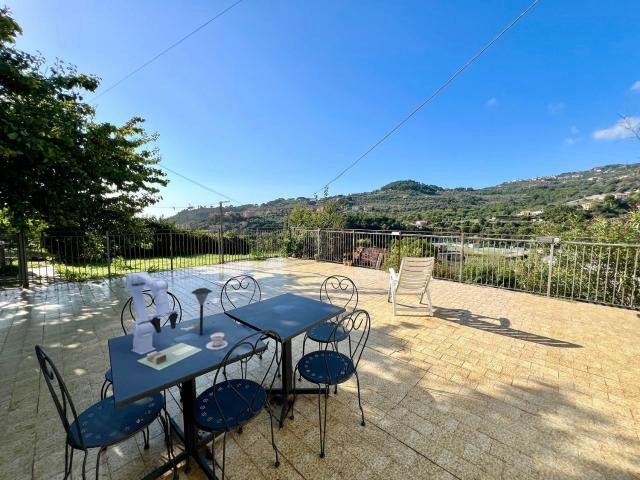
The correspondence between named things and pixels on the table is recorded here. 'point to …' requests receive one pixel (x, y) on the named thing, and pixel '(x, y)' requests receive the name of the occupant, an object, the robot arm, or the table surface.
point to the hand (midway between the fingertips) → (166, 330)
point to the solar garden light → (201, 303)
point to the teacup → (216, 341)
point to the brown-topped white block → (156, 357)
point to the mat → (172, 355)
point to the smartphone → (190, 327)
